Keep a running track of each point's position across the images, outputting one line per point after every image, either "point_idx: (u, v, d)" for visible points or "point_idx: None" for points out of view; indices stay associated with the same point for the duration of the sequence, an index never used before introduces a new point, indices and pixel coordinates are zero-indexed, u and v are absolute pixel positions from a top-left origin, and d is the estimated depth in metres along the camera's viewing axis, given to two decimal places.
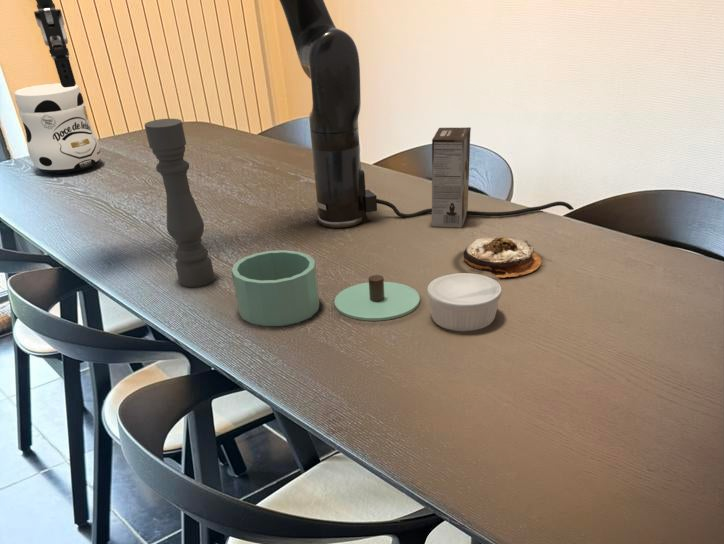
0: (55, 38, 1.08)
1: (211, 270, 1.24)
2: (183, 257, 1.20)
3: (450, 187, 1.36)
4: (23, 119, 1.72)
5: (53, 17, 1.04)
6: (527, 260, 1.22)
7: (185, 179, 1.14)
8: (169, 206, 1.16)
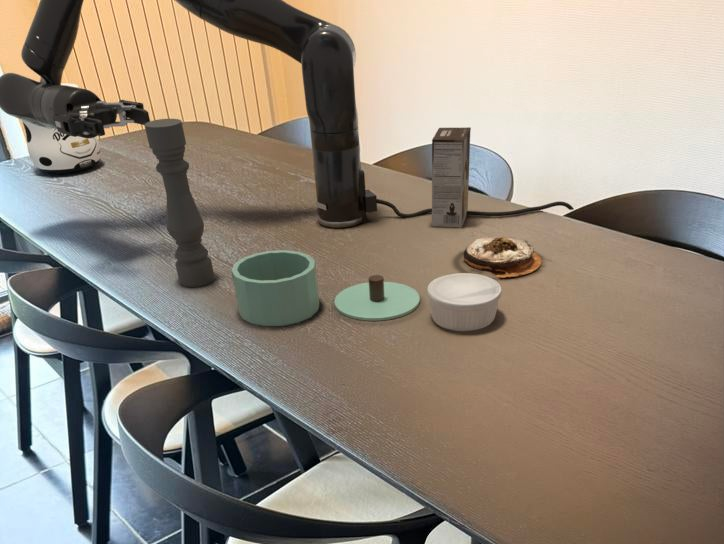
0: None
1: (211, 270, 1.24)
2: (183, 257, 1.20)
3: (450, 187, 1.36)
4: None
5: (56, 120, 1.16)
6: (527, 260, 1.22)
7: (185, 179, 1.14)
8: (169, 206, 1.16)
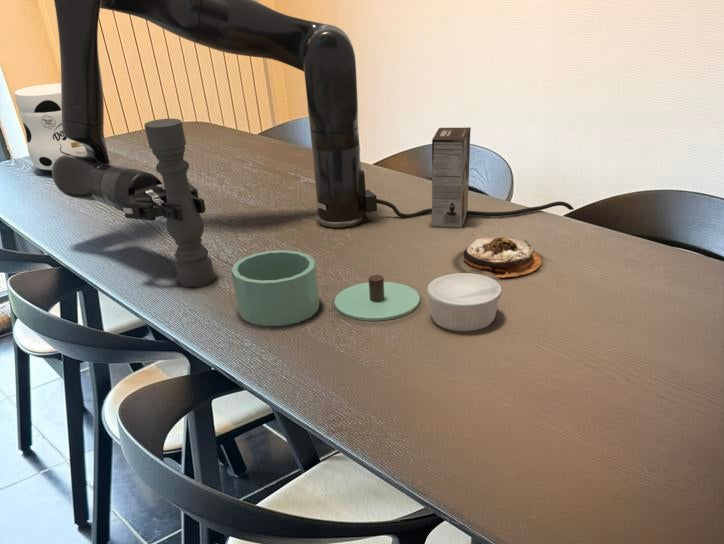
0: None
1: (211, 270, 1.24)
2: (183, 257, 1.20)
3: (450, 187, 1.36)
4: (23, 119, 1.72)
5: (126, 207, 1.16)
6: (527, 260, 1.22)
7: (185, 179, 1.14)
8: None
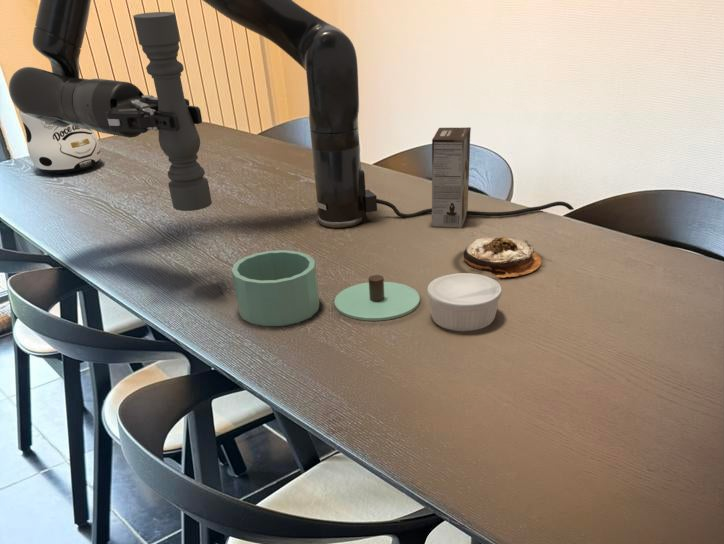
0: None
1: (209, 192, 1.12)
2: (179, 176, 1.08)
3: (450, 187, 1.36)
4: (23, 119, 1.72)
5: (113, 117, 1.03)
6: (527, 260, 1.22)
7: (180, 83, 1.02)
8: None
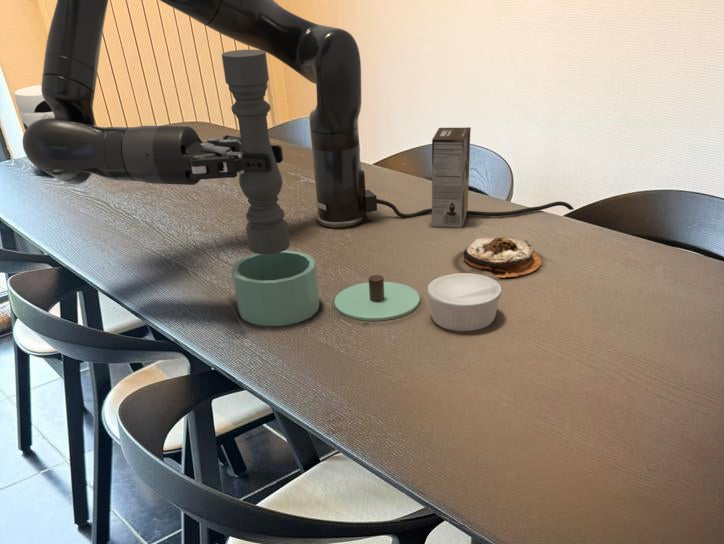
0: (225, 162, 0.98)
1: None
2: (267, 218, 1.02)
3: (450, 187, 1.36)
4: (23, 119, 1.72)
5: (199, 165, 0.95)
6: (527, 260, 1.22)
7: (266, 122, 0.97)
8: None
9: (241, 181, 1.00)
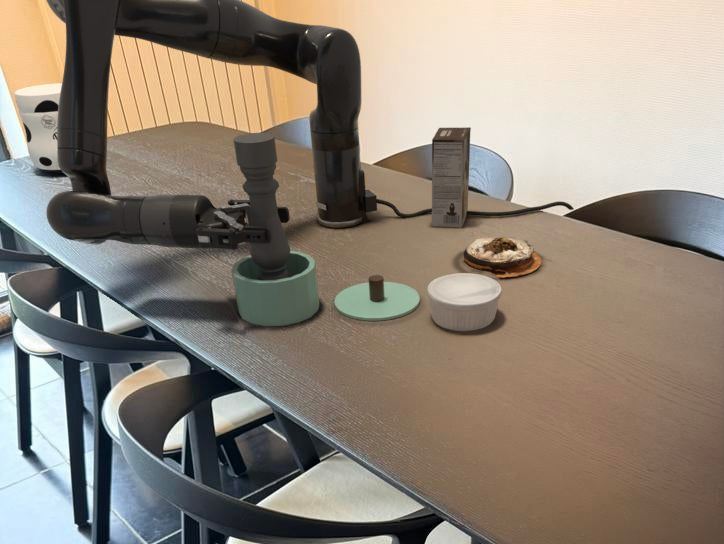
0: None
1: None
2: None
3: (450, 187, 1.36)
4: (23, 119, 1.72)
5: (203, 235, 1.01)
6: (527, 260, 1.22)
7: (275, 197, 1.03)
8: None
9: (252, 251, 1.06)
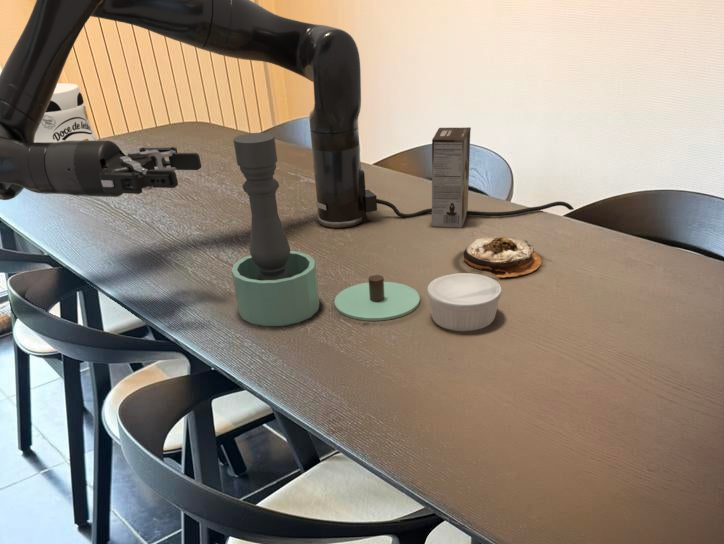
0: None
1: None
2: None
3: (450, 187, 1.36)
4: None
5: (106, 179, 0.99)
6: (527, 260, 1.22)
7: (275, 197, 1.03)
8: (261, 230, 1.04)
9: (252, 251, 1.06)
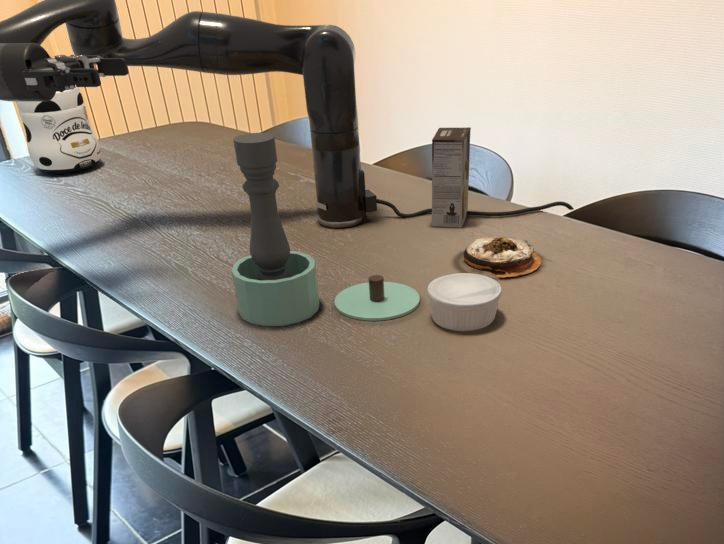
0: None
1: None
2: None
3: (450, 187, 1.36)
4: (23, 119, 1.72)
5: (29, 76, 1.01)
6: (527, 260, 1.22)
7: (275, 197, 1.03)
8: (261, 230, 1.04)
9: (252, 251, 1.06)
